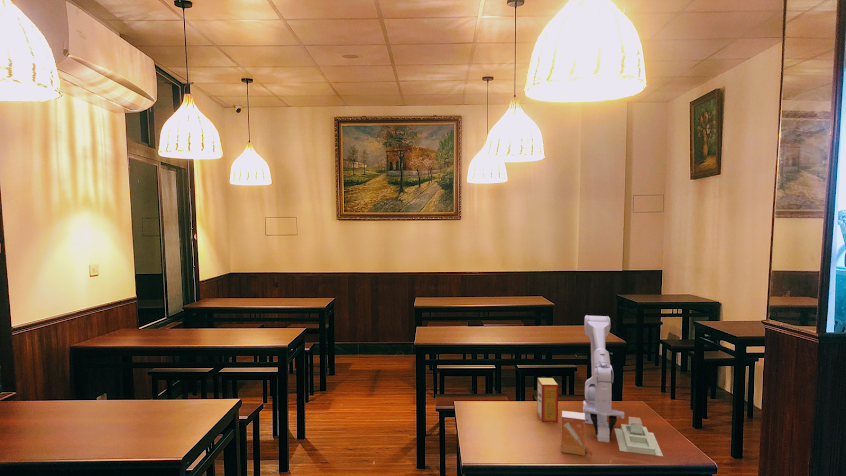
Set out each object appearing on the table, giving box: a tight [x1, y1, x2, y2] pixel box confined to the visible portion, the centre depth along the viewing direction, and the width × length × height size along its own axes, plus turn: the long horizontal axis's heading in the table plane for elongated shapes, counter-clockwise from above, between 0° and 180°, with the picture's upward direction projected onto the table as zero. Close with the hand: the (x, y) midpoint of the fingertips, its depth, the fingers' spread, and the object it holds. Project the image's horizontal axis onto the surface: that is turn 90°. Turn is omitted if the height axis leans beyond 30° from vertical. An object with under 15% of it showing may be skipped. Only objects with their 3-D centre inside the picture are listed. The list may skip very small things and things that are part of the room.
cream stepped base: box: [613, 423, 664, 457], centre depth 175 cm, size 14×20×3 cm
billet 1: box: [596, 421, 610, 443], centre depth 178 cm, size 4×6×6 cm, turn 163°
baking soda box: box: [536, 377, 559, 424], centre depth 199 cm, size 10×6×16 cm
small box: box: [560, 410, 586, 457], centre depth 170 cm, size 8×6×13 cm
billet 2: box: [628, 416, 643, 435], centre depth 180 cm, size 4×6×6 cm, turn 163°
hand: (603, 434), depth 178 cm, fingers closed on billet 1, 4 cm apart
